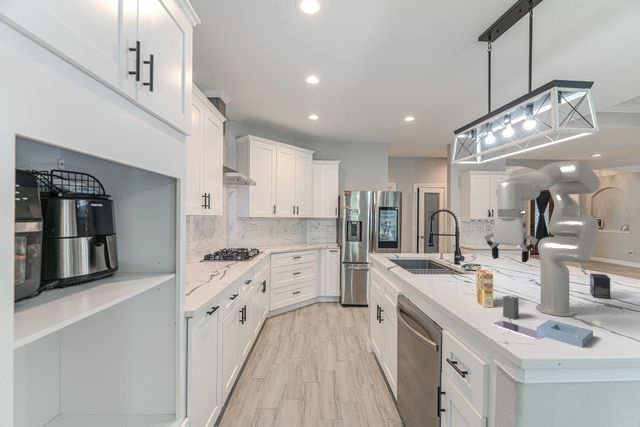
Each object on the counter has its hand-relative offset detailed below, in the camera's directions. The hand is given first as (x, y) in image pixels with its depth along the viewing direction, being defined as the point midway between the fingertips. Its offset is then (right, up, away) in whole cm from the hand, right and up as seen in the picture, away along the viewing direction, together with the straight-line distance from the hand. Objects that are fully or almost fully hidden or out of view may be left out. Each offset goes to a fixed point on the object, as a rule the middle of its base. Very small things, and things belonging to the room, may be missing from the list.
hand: (509, 260), depth 109 cm
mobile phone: (0, -25, -4) cm, 25 cm away
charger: (+6, -24, +9) cm, 27 cm away
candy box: (+5, -25, +25) cm, 35 cm away
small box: (+70, -24, +38) cm, 83 cm away
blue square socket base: (+13, -25, -9) cm, 29 cm away
